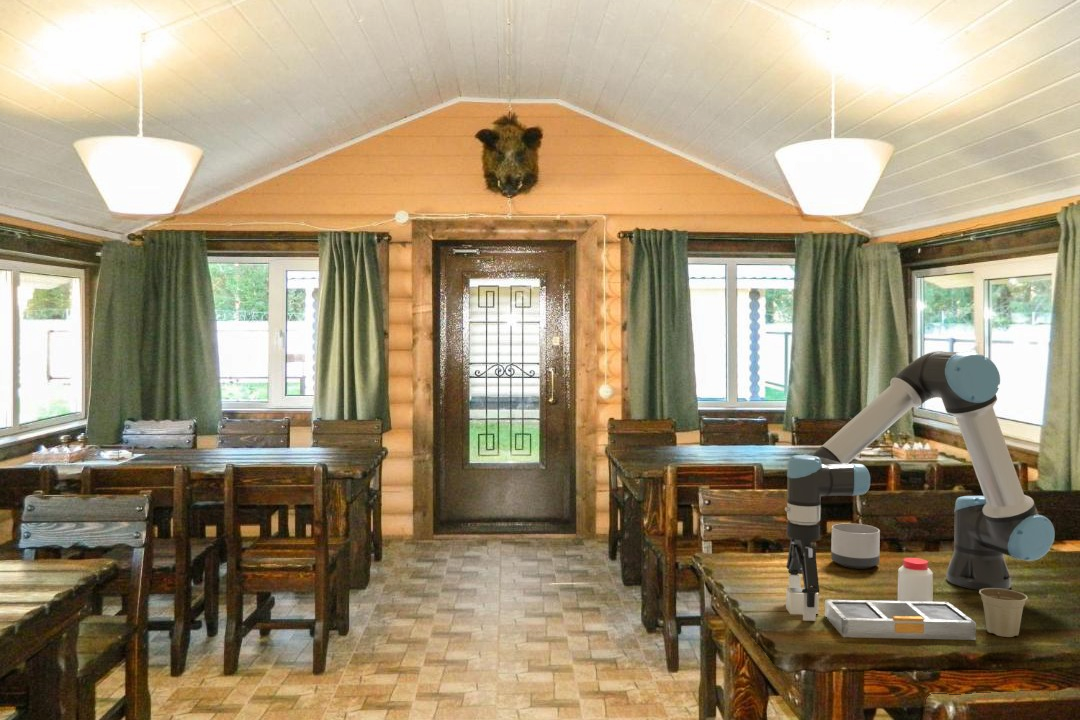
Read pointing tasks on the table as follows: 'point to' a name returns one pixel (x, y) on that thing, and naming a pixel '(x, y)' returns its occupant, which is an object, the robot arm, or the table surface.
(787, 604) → the white block
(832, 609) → the tray
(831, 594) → the table surface
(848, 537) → the planter
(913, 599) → the pill bottle
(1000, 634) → the flower pot
